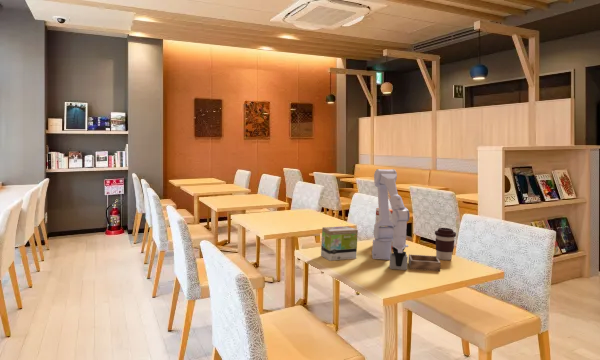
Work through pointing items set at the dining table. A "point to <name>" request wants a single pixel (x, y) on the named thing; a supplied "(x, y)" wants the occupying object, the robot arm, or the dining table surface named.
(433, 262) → the walnut crate
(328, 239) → the tea box
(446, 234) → the coffee cup
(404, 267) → the grey crate
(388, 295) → the dining table surface
